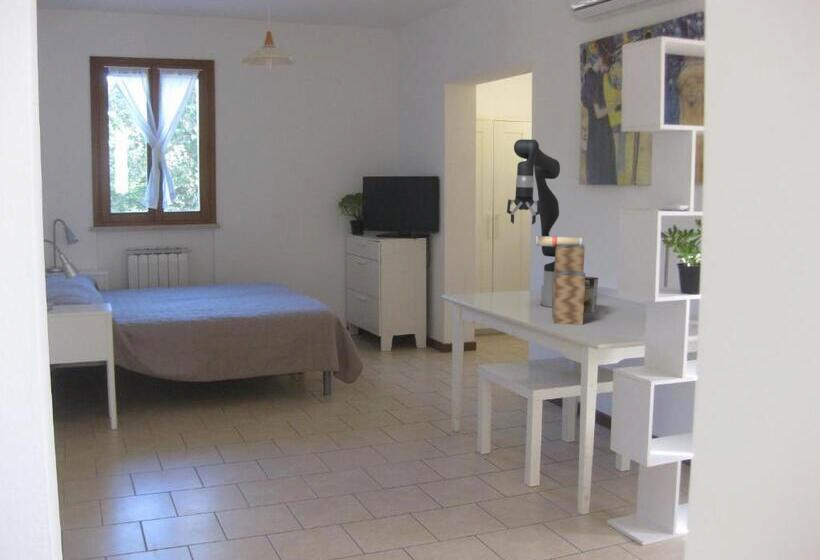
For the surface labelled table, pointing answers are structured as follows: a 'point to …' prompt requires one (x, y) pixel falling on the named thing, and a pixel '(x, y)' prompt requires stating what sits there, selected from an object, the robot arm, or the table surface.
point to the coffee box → (590, 294)
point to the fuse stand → (568, 284)
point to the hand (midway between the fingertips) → (522, 223)
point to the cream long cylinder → (557, 241)
